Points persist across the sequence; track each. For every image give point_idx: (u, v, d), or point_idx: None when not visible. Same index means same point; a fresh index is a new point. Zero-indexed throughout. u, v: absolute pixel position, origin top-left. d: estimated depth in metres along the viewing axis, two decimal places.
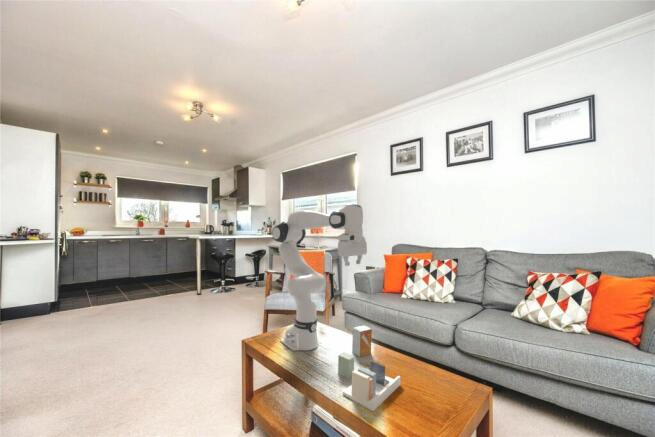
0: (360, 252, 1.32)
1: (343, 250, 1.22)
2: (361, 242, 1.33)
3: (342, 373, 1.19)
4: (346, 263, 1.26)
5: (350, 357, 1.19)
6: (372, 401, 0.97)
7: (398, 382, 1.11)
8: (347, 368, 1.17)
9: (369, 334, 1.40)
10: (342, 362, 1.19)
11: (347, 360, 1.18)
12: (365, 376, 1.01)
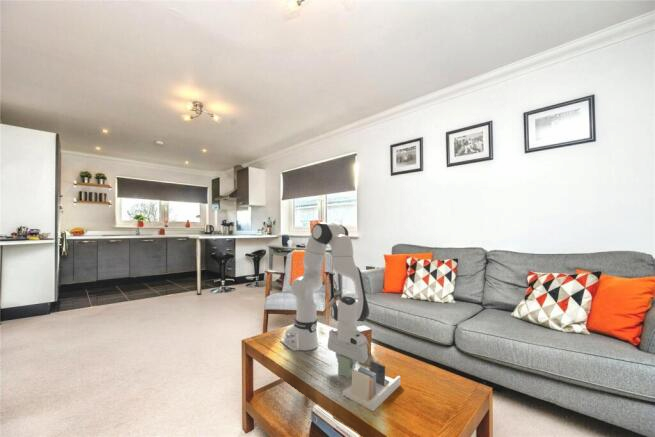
0: None
1: (366, 355, 1.15)
2: None
3: (342, 373, 1.19)
4: (354, 366, 1.18)
5: None
6: (372, 401, 0.97)
7: (398, 382, 1.11)
8: (347, 368, 1.17)
9: (369, 334, 1.40)
10: (342, 362, 1.19)
11: (347, 360, 1.18)
12: (365, 376, 1.01)
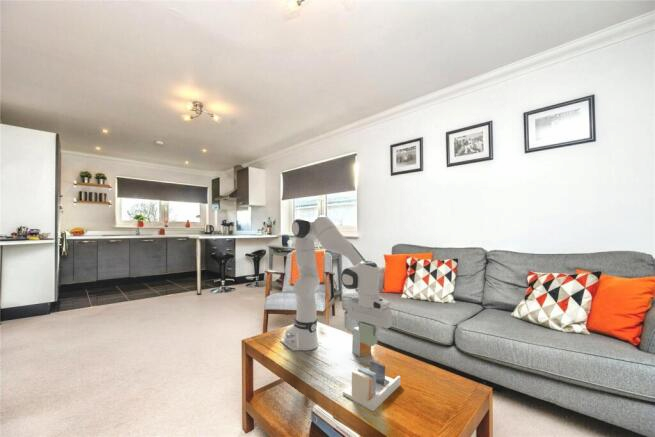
0: None
1: (391, 320, 1.06)
2: None
3: (365, 341, 1.10)
4: (378, 333, 1.09)
5: None
6: (372, 401, 0.97)
7: (398, 382, 1.11)
8: (370, 335, 1.09)
9: None
10: (364, 329, 1.11)
11: (370, 327, 1.09)
12: (365, 376, 1.01)
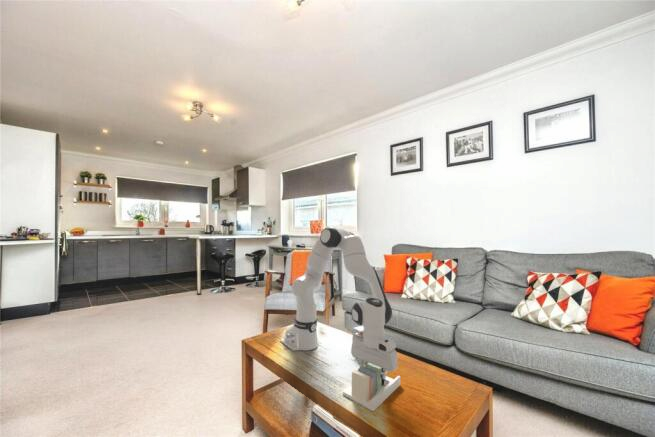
0: None
1: (397, 362, 1.04)
2: None
3: None
4: (384, 375, 1.06)
5: (377, 368, 1.08)
6: (372, 401, 0.97)
7: (398, 382, 1.11)
8: None
9: None
10: None
11: (374, 372, 1.07)
12: (365, 376, 1.01)
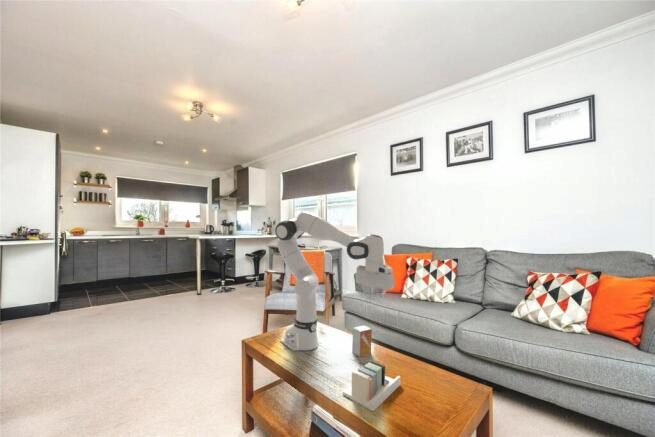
0: None
1: (393, 283, 1.26)
2: None
3: None
4: (383, 295, 1.28)
5: (377, 368, 1.08)
6: (372, 401, 0.97)
7: (398, 382, 1.11)
8: None
9: (369, 334, 1.40)
10: None
11: (374, 372, 1.07)
12: (365, 376, 1.01)
